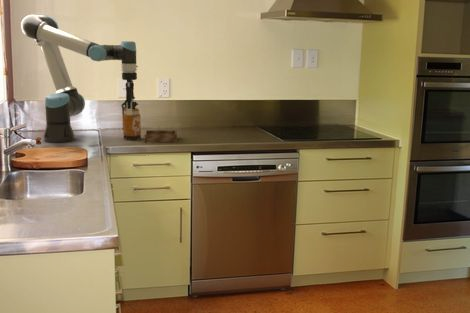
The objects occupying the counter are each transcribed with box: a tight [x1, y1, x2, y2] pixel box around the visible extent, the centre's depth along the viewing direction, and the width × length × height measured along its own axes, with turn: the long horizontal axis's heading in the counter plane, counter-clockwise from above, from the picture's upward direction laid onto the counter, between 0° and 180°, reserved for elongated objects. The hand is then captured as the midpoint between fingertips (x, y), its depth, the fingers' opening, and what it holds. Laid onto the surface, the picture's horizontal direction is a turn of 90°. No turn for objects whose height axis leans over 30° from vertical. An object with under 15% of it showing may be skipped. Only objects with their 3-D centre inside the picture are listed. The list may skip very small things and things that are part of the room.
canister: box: [121, 101, 142, 141], centre depth 285 cm, size 9×11×20 cm
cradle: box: [144, 129, 178, 144], centre depth 284 cm, size 16×14×4 cm
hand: (130, 113), depth 284 cm, fingers open, 13 cm apart
